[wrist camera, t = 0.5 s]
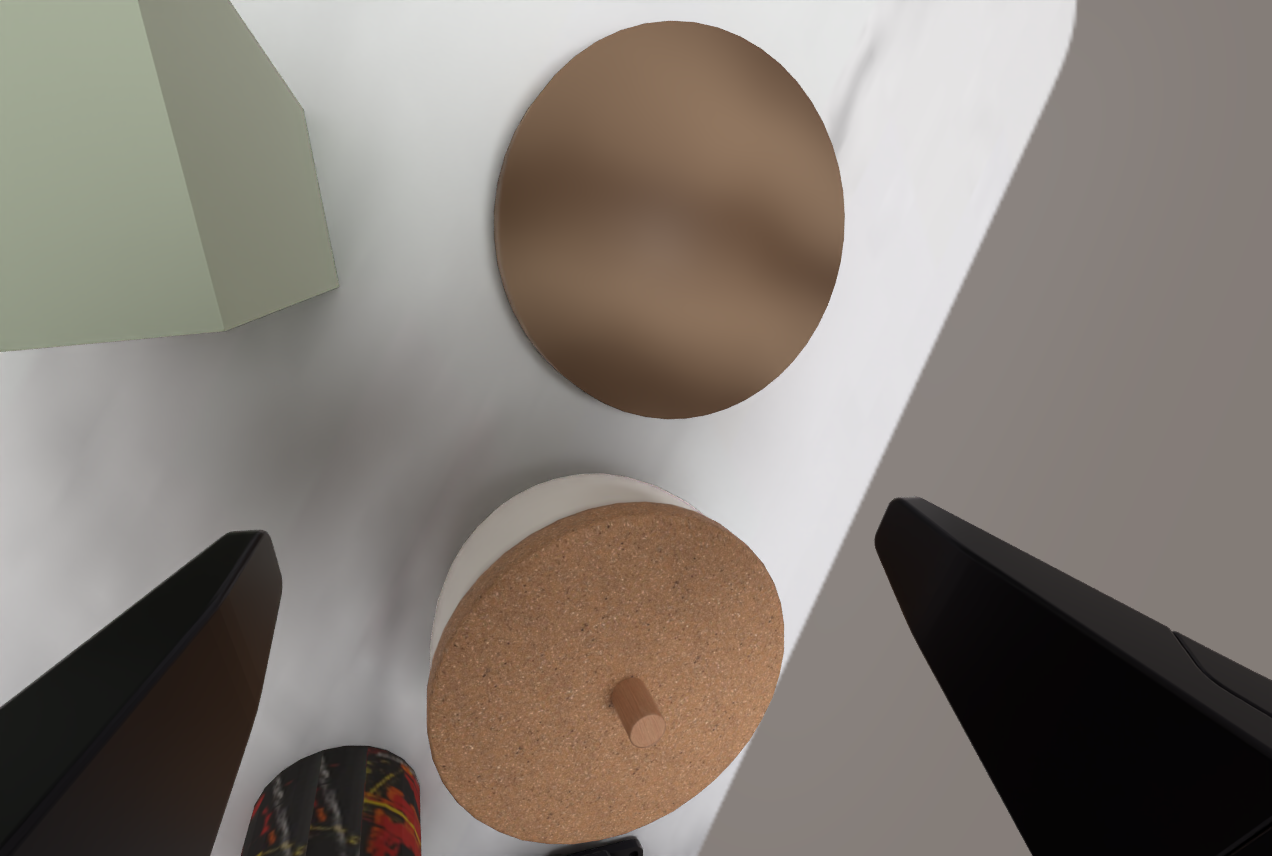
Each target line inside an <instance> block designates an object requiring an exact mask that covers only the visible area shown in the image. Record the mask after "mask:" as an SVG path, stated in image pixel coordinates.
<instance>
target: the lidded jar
mask: <svg viewBox="0 0 1272 856" xmlns="http://www.w3.org/2000/svg"><path fill="white" fill-rule="evenodd" d="M783 653H784V622H783V615H782V608H781V602H780V599H779V596H778V593H777V590H776V587H775V584H774V582H773V580H772V578H771V577H770V575H769V573H768V571H767V569H766V568H765V566H764V564H763V563H762V562H761V560H760V559H759V558H758V557H757V556H756V555H755V553H754V552H753V551H752V550H751V549H750V548H749V547H748V546H747V545H746V544H745V543H744V542H743V541H741V540H740V539H739V538H738V537H736V536H735V535H734V534H732V533H731V532H730V531H729V530H727V529H726V528H725V527H724V526H722V525H721V524H719V523H718V522H716V521H714V520H712V519H710V518H708V517H706V516H705V515H704V514H702V513H701V512H700V511H698V510H697V509H696V508H694V507H693V506H692V505H690V504H689V503H687V502H686V501H684V500H682V499H680V498H678V497H676V496H674V495H673V494H671V493H669V492H667V491H665V490H663V489H661V488H659V487H657V486H655V485H652V484H649V483H645V482H642V481H639V480H636V479H632V478H629V477H625V476H620V475H612V474H605V473H594V474H577V475H572V476H566V477H561V478H555V479H552V480H549V481H546V482H543V483H540V484H537V485H535V486H533V487H531V488H529V489H527V490H525V491H523V492H521V493H519V494H517V495H515V496H514V497H512V498H511V499H509V500H508V501H507V502H505V503H504V504H502V505H501V506H499V507H498V508H497V509H496V510H495V511H494V512H492V513H491V514H490V515H489V516H488V517H487V518H486V519H485V520H484V521H483V522H482V523H481V524H480V525H479V526H478V527H477V528H476V529H475V531H474V532H473V533H472V534H471V536H470V537H469V538H468V539H467V540H466V542H465V543H464V544H463V546H462V547H461V549H460V551H459V552H458V554H457V556H456V558H455V559H454V561H453V563H452V565H451V567H450V569H449V572H448V575H447V577H446V580H445V582H444V585H443V588H442V590H441V593H440V596H439V598H438V602H437V607H436V612H435V617H434V622H433V628H432V633H431V639H430V675H429V680H428V685H427V733H428V738H429V744H430V749H431V754H432V759H433V761H434V764H435V766H436V768H437V771H438V773H439V775H440V778H441V780H442V782H443V784H444V785H445V786H446V788H447V789H448V791H449V792H450V793H451V795H452V796H453V797H454V799H455V800H456V802H457V803H459V804H460V805H461V806H462V807H463V808H464V809H465V810H466V811H468V812H469V813H470V814H471V815H472V816H473V817H474V818H476V819H477V820H479V821H480V822H482V823H484V824H486V825H488V826H490V827H491V828H493V829H495V830H497V831H499V832H501V833H504V834H507V835H510V836H512V837H515V838H518V839H521V840H525V841H532V842H539V843H546V844H577V843H584V842H591V841H598V840H602V839H606V838H610V837H614V836H618V835H622V834H625V833H628V832H630V831H632V830H635V829H637V828H640V827H642V826H645V825H647V824H649V823H651V822H653V821H655V820H657V819H659V818H661V817H663V816H665V815H667V814H669V813H671V812H673V811H674V810H676V809H677V808H679V807H680V806H681V805H683V804H684V803H686V802H687V801H689V800H690V799H692V798H693V797H695V796H696V795H697V794H698V793H699V792H701V791H702V790H703V789H704V788H706V787H707V786H708V785H709V784H710V783H712V782H713V781H714V780H715V779H716V778H717V777H718V776H719V775H720V774H721V773H722V772H723V771H724V770H725V769H726V768H727V767H728V766H729V764H730V763H731V762H732V761H733V760H734V759H735V758H736V756H737V755H738V754H739V753H740V751H741V750H742V749H743V748H744V746H745V745H746V744H747V743H748V741H749V740H750V738H751V737H752V735H753V733H754V732H755V730H756V728H757V727H758V725H759V723H760V722H761V720H762V718H763V716H764V714H765V712H766V710H767V708H768V705H769V703H770V701H771V699H772V697H773V694H774V691H775V687H776V684H777V681H778V677H779V674H780V669H781V663H782V658H783Z"/></svg>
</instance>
